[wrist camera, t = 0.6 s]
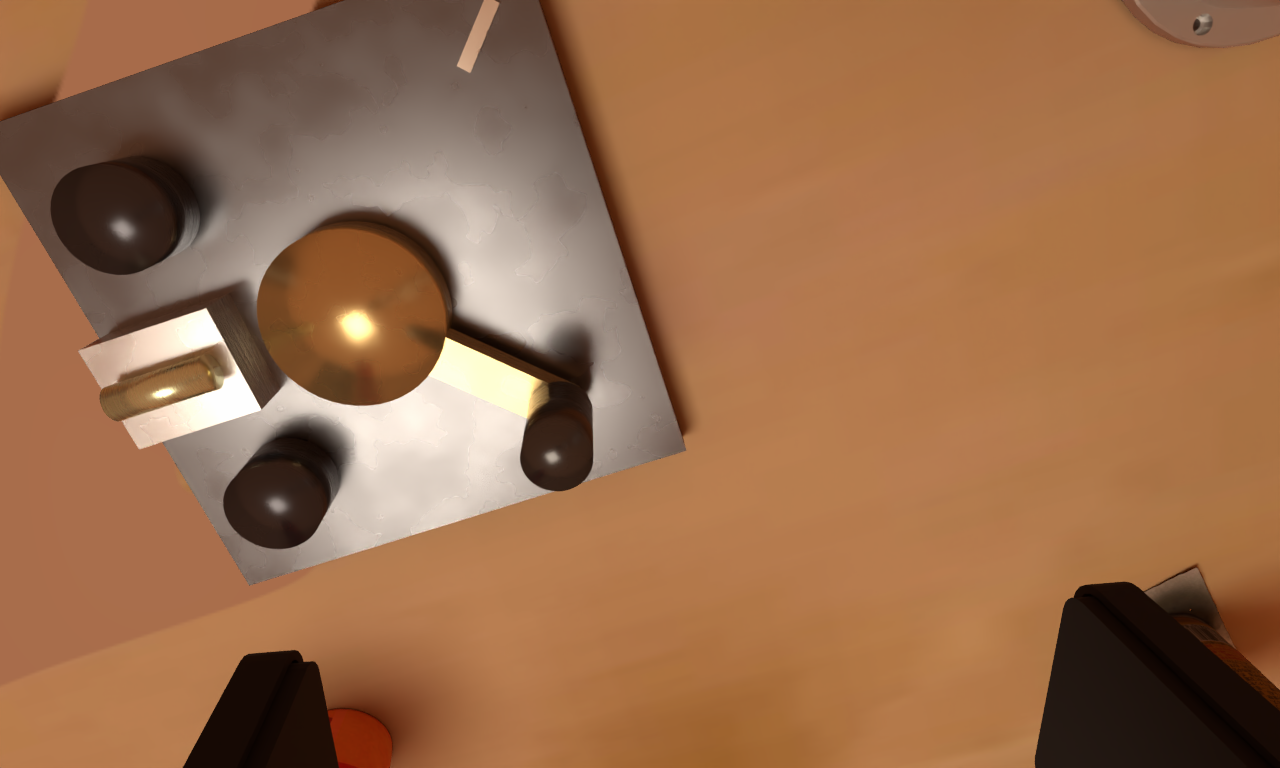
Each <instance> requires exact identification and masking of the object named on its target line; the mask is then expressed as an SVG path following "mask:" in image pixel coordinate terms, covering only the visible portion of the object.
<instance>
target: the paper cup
mask: <svg viewBox="0 0 1280 768" xmlns="http://www.w3.org/2000/svg"><path fill="white" fill-rule="evenodd" d="M328 716H329V721H330V726H331V730H332V735H333V740H334V745H335V750H336V755H337V760H338V765H339V768H390V762H391V756H392V739H391V736H390V734H389V732H388V730H387V729H386V727H385V726H384V725H383V724H382V723H381V722H380V721H379V720H377V719H376V718H374V717H373V716H371V715H369V714H367V713H364V712H361V711H358V710H353V709H332V710H328Z"/></svg>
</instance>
